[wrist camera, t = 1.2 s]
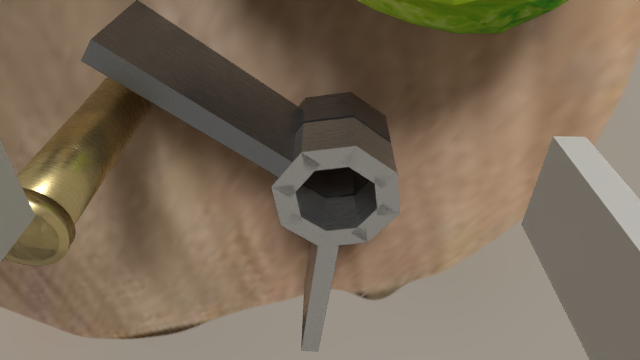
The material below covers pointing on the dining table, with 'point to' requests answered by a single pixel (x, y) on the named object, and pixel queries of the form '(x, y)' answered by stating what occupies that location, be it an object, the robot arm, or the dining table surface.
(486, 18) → the lettuce
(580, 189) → the robot arm
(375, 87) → the dining table surface
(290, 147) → the hinge
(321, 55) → the dining table surface
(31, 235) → the pin
